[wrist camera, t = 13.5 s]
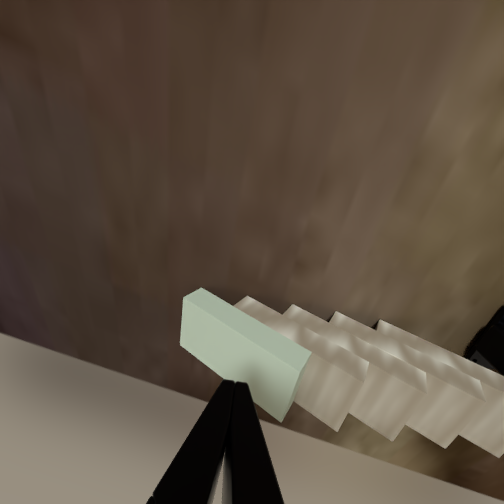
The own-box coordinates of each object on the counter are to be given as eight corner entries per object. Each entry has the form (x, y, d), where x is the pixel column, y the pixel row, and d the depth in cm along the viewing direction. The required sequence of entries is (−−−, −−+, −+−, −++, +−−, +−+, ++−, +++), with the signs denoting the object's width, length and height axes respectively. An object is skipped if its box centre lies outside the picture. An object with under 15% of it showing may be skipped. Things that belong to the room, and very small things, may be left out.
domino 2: (247, 295, 21) (369, 362, 16) (238, 339, 23) (344, 409, 18) (233, 306, 19) (364, 382, 15) (224, 352, 21) (337, 432, 17)
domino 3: (292, 304, 21) (425, 372, 16) (279, 347, 23) (394, 418, 18) (282, 315, 19) (426, 394, 15) (269, 360, 21) (392, 441, 17)
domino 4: (335, 311, 21) (479, 380, 16) (319, 353, 23) (443, 425, 18) (329, 322, 19) (486, 402, 15) (311, 366, 21) (445, 448, 17)
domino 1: (201, 287, 20) (311, 352, 16) (196, 332, 22) (293, 401, 18) (183, 297, 19) (300, 372, 14) (180, 344, 21) (281, 423, 16)
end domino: (379, 319, 21) (534, 390, 17) (359, 360, 23) (492, 433, 19) (376, 331, 19) (546, 413, 15) (354, 374, 21) (498, 457, 17)
